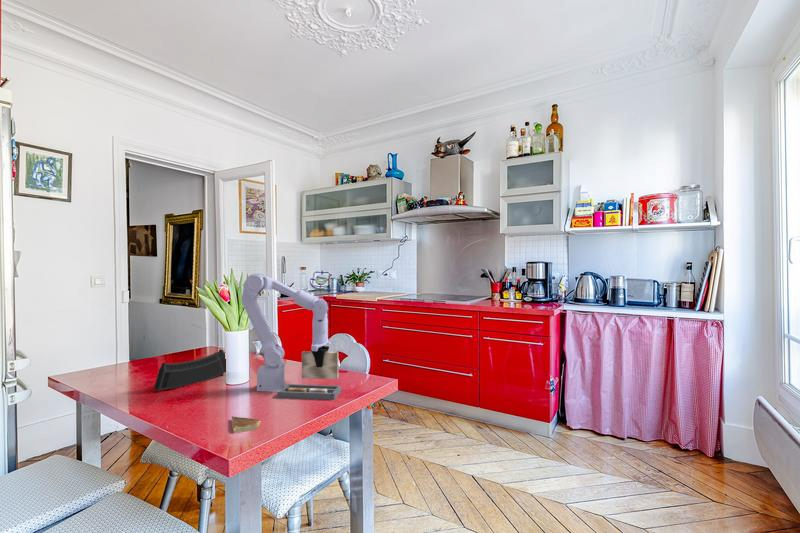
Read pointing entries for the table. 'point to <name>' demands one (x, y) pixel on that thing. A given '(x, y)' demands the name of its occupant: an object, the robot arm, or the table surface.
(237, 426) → the shard
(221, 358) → the magazine
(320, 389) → the offcut
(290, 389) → the offcut
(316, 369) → the sheet
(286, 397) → the rack
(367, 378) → the table surface
